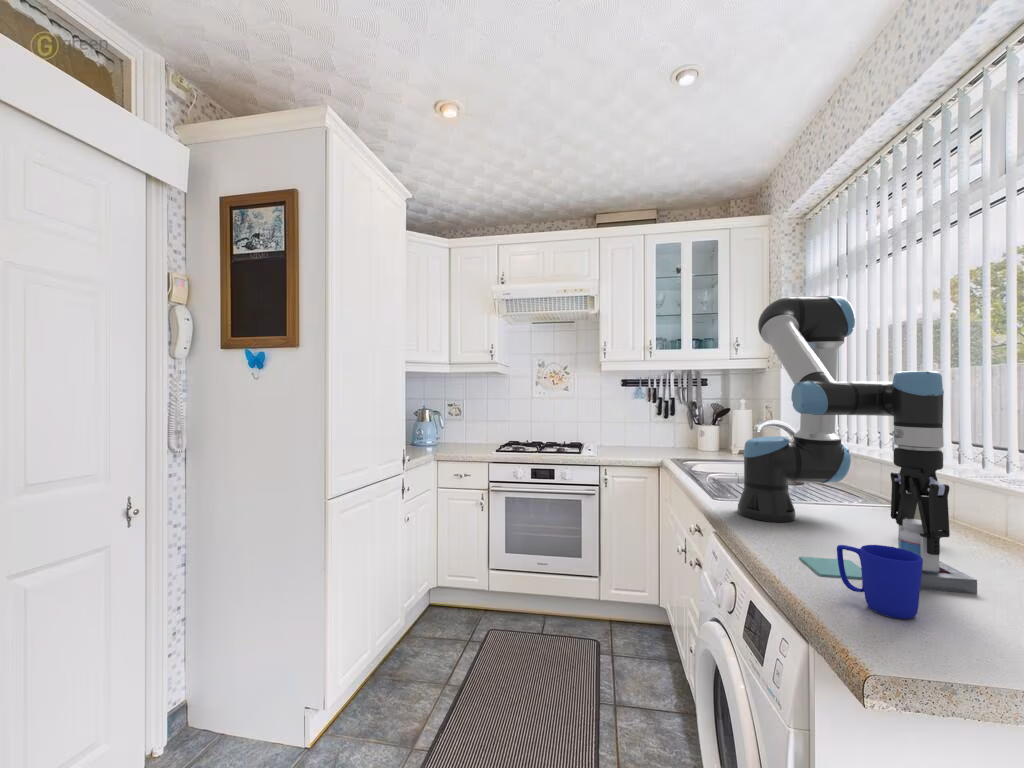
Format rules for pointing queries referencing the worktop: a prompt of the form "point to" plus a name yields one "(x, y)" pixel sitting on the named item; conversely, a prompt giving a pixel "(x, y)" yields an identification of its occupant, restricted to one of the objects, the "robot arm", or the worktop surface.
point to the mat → (832, 567)
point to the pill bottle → (911, 537)
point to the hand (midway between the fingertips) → (918, 563)
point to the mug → (887, 579)
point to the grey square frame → (948, 580)
